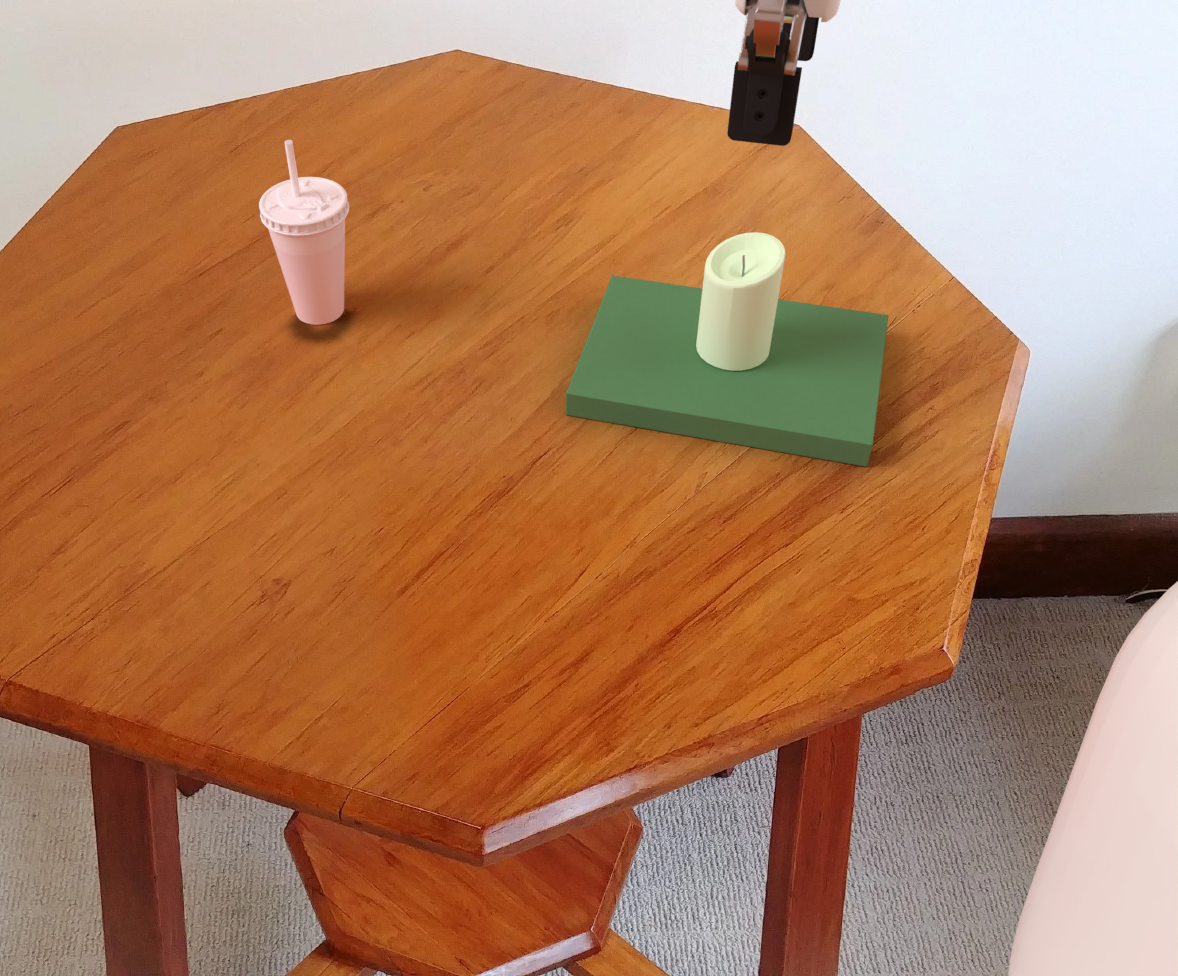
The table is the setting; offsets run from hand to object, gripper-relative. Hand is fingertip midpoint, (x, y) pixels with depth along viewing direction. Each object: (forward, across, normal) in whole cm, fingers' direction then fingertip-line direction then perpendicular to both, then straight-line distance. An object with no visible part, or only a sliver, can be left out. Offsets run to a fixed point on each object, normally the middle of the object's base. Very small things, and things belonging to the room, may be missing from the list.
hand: (771, 96), depth 67 cm
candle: (+22, +6, +1) cm, 22 cm away
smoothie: (+24, +5, +32) cm, 40 cm away
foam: (+24, +5, +1) cm, 24 cm away
